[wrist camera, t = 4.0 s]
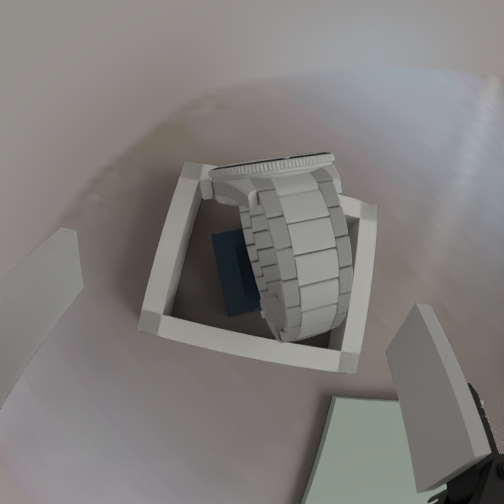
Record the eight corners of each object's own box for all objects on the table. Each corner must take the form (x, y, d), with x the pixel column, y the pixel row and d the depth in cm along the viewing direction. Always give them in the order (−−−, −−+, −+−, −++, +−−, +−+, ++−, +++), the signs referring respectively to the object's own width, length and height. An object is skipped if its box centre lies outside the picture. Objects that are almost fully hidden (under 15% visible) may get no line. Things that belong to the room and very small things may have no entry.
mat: (478, 398, 18) (484, 399, 17) (427, 533, 15) (432, 536, 14) (332, 395, 18) (336, 397, 17) (282, 551, 14) (283, 556, 14)
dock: (363, 218, 21) (378, 205, 18) (341, 369, 18) (355, 374, 16) (189, 178, 21) (185, 160, 18) (148, 329, 18) (136, 329, 16)
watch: (289, 205, 21) (341, 95, 10) (320, 323, 19) (419, 314, 8) (207, 220, 20) (186, 112, 9) (233, 344, 18) (237, 368, 8)
